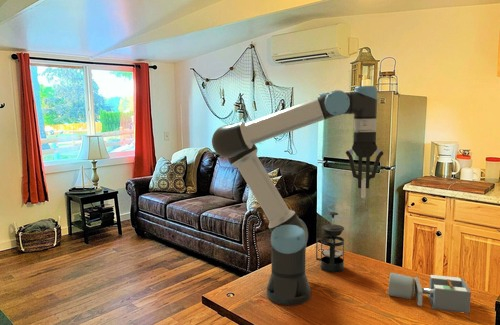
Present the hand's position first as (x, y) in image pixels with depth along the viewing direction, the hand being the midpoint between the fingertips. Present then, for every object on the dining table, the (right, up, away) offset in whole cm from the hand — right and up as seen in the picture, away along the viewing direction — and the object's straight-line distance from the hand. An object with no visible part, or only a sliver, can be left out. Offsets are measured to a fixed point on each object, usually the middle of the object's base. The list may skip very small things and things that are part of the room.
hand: (363, 197), depth 134 cm
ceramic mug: (+12, -33, -4) cm, 36 cm away
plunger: (+21, -33, -10) cm, 40 cm away
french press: (-8, -31, +18) cm, 36 cm away
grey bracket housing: (+24, -34, -11) cm, 43 cm away
